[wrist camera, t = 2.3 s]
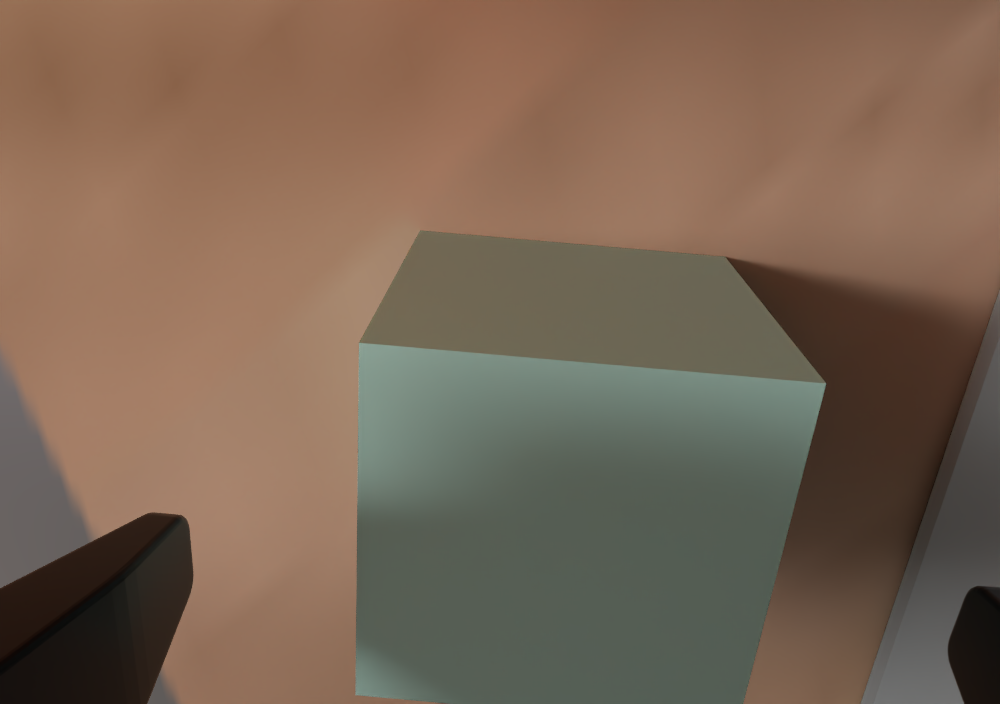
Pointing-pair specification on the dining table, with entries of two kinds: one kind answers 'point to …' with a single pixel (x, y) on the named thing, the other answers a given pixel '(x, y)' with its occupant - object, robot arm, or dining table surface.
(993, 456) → the slate mat
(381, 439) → the sage cube
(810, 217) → the dining table surface
